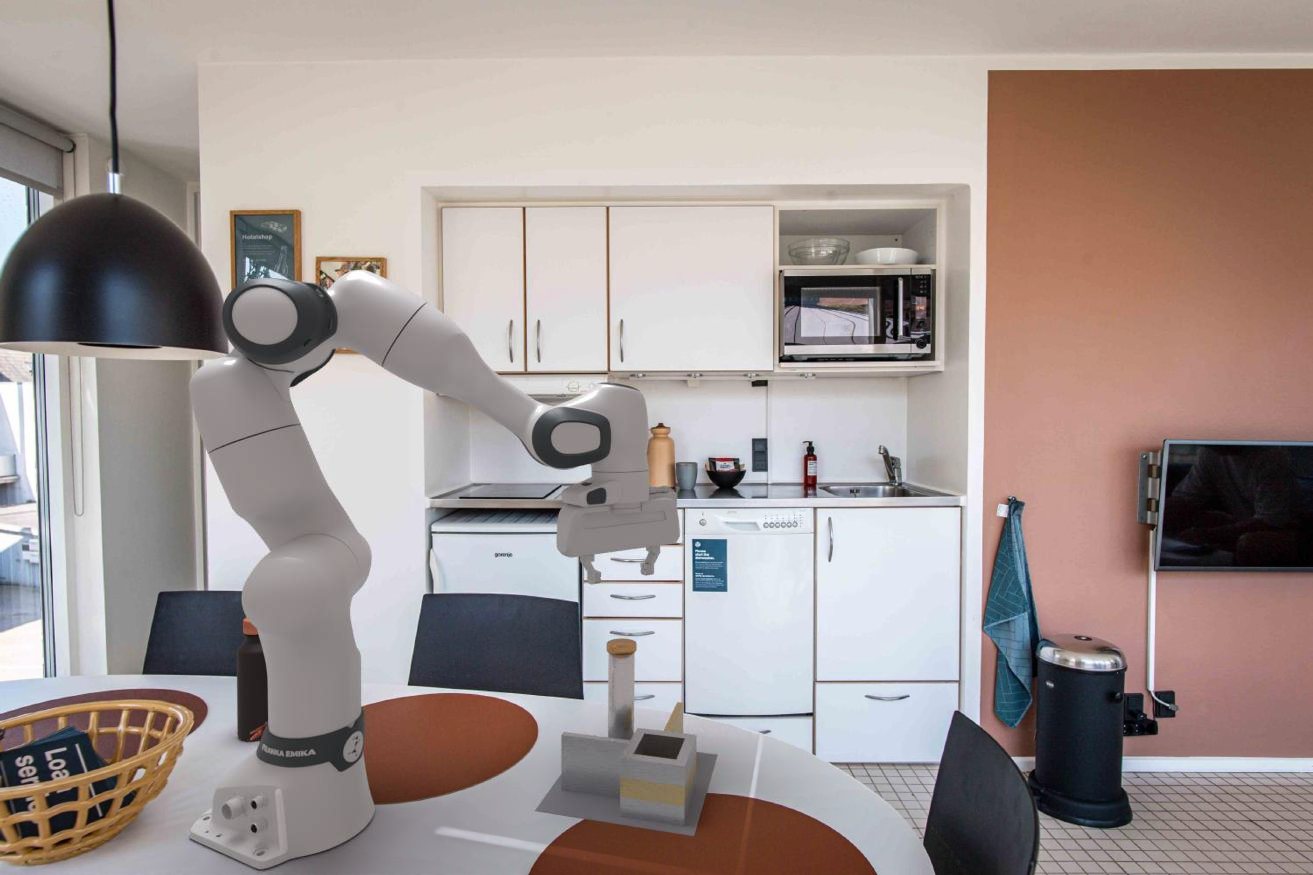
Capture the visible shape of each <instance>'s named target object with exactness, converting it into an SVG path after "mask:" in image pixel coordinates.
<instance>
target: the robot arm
mask: <svg viewBox="0 0 1313 875" xmlns="http://www.w3.org/2000/svg"><path fill="white" fill-rule="evenodd" d="M220 318H221V325H222V328H223V332H224V333H225V336H226V338H227V339H228V341H229V343H230V345H232V346H233V349H232V350H231V352H230V353H228V354H226V355H225V356H223V357H219V358H215V359H213V360H211V361H209V362H207V363H205V364H204V365H202V366H200V367H199V368H198V369H197V370H196V371H195V372H194V373H193V374H192V376H191V378H190V381H189V384H188V390H189V396H190V402H191V406H192V410H193V415H194V419H195V422H196V426H197V430H198V432H199V433H200V434H199V435H200V437H201V439H202V440H201V441H202V444H203V445H204V448H205V450H206V453H207V454H208V457H209V459H210V462H211V464H212V466H213V468H214V471H215V473H216V475H217V477H218V480H219V482H220V484H221V486H222V489H223V492H224V493H225V496H226V498H227V499H228V502H229V504H230V506H231V507H230V508H232V510H233V512H234V513H235V514H236V515H237V517H238V516H239V517H240V518H241V519H243V520H244V521H245V522H247V524H248V525H250V527H251V528H252V529H253V530H254V531H255V532H256V534H258V536H259V538H260V539H261V540H262V542H263V543H264V544H265V545H266V547H267V549H268V550H269V551H270V552H268V553H267V554H266V555H264V556H262V558H261V559H260V560H259V562H258V563H257V564H256V566H254V568H253V569H252V571H251V572H250V574H249V575H248V577H247V578H246V580H245V582H244V585H243V586H242V591H241V605H242V607H241V608H242V610H243V612H244V615H245V618H248V620H249V621H250V622H251V623H252V624H253V625H254V626H255V627H256V628H257V631H258V634H259V638H260V641H261V645H262V649H263V653H264V657H265V662H266V667H267V677H268V721H267V722H265V725H263V726H261V727H260V728H258V729H256V730H254V731H252V732H251V733H250V734H253V733H255V732H257V731H258V733H256V734H255V735H254V736H253V737H252V738H251V739H250V740H251V741H250V742H253V741H252V740H254V739H256V738H257V737H259V736H261V735H262V737H261V740H259V743H258V745H257V748H256V750H255V751H254V752H253V753H251V754H249V755H248V756H247V757H246V758H245V759H243V760H242V761H241V762H239V764H237V765H236V766H235V767H233V768H232V769H231V770H230V771H228V772H227V773H226V774H225V775H223V777H222V778H221V779H220V781H219V782H218V784H217V785H216V788H215V790H214V793H213V799H212V806H211V807H210V808H209V809H208V810H206V811H205V812H204V813H203V814H202V815H200V817H198V819H197V820H196V821H195V822H194V823H193V824H192V826H191V828H190V830H189V838H190V839H191V840H193V841H195V842H197V843H199V844H201V845H204V846H206V847H208V848H210V849H212V850H214V851H217V852H220V853H222V854H224V855H225V856H228V857H231V858H233V859H234V860H237V861H239V862H241V863H244V864H245V865H247V866H250V867H253V868H254V869H258V870H265V869H269V868H271V867H274V866H277V865H279V864H282V863H284V862H286V861H289V860H291V859H296V858H301V857H304V856H309V855H310V856H311V855H313V854H317V853H321V852H323V851H327V850H329V849H332V848H334V847H336V846H339V845H341V844H343V843H345V842H347V841H348V840H350V839H351V838H353V837H355V836H356V835H357V834H359V833H360V832H361V831H362V830H364V829H365V828H366V827H367V826H368V824H369V823H370V822H371V820H372V819H373V817H374V815H375V811H376V806H375V803H374V800H373V796H372V794H371V790H370V786H369V781H368V776H367V771H366V763H365V762H366V761H365V757H364V746H365V740H366V717H365V710H364V707H362V655H361V651H360V649H359V648H358V647H357V643H356V641H355V635H354V630H353V626H352V620H351V617H352V616H351V605H352V601H353V597H354V596H355V595H356V594H357V593H358V592H359V591H360V589H362V587H363V586H365V583H366V582H367V580H368V578H369V576H370V571H371V568H372V559H373V554H372V549H371V546H370V544H369V543H368V542H369V541H367V539H366V537H364V536H363V535H362V534H361V533H360V532H359V531H358V530H357V528H356V526H355V524H354V523H353V521H352V520H351V518H350V516H349V514H348V513H347V511H346V509H345V508H344V507H343V505H342V503H341V502H340V500H339V499H338V498H337V496H336V495H335V493H334V492H333V490H332V488H331V487H330V486H329V484H328V481H327V480H326V478H325V475H324V473H323V472H322V469H321V466H320V464H319V462H318V460H317V458H316V456H315V455H316V454H315V453H314V451H313V449H312V445H311V444H310V441H309V439H308V437H307V435H306V432H305V429H304V427H303V425H302V423H301V421H300V418H299V417H298V414H297V411H296V409H295V407H294V404H293V401H292V397H291V392H290V388H294V387H295V386H298V385H299V384H301V383H302V382H304V381H305V380H306V379H308V378H309V377H311V376H312V375H314V374H315V373H317V372H318V371H320V370H321V369H322V368H324V367H325V366H326V365H328V363H330V361H331V360H332V358H333V357H334V355H335V352H336V350H337V349H346V350H350V351H354V352H356V353H358V354H361V355H362V356H364V357H365V358H367V359H368V360H371V361H372V362H374V363H375V364H377V365H378V366H380V367H381V368H383V369H384V370H386V371H388V373H390V374H392V375H394V376H396V377H397V378H400V379H402V380H404V381H406V382H407V383H410V384H412V385H415V386H416V387H419V388H421V389H423V390H426V391H429V392H432V393H436V394H438V395H441V396H442V395H443V396H446V397H450V398H453V399H455V400H458V401H461V402H463V403H465V404H467V405H469V406H471V407H474V408H475V409H477V410H478V411H480V412H481V413H483V414H484V415H485V416H487V417H489V418H490V419H492V420H494V421H495V422H496V423H498V424H500V425H501V426H503V427H505V428H506V429H507V430H509V431H510V432H511V433H512V434H513V435H514V436H516V437H517V438H518V439H519V442H521V444H522V445H523V447H524V449H525V451H526V452H527V454H528V455H529V456H530V457H531V458H532V459H533V460H534V461H536V462H537V463H538V464H540V465H542V466H544V467H549V468H551V469H555V470H559V471H561V470H562V471H567V470H572V469H576V468H578V467H582V466H587V465H590V467H591V468H590V469H591V477H588V478H587V479H586V478H585V480H581V481H580V482H577V483H575V484H572V485H570V486H567V487H565V488H563V489H562V490H561V493H560V494H561V498H560V499H561V501H562V502H563V503H565V505H563V506H562V507H561V509H560V511H559V513H558V516H557V524H556V548H557V550H558V552H559V553H560V554H561V555H562V556H564V557H567V558H572V559H573V558H578V557H579V562H580V563H581V565H582V566H583V568H584V569H585V572H586V580H587V583H588V584H589V585H599V584H601V583H602V579H601V577H602V572H601V571H599V570H597V569H595V567H594V565H593V564H592V563H594V562H595V561H596V560H595V558H596V556H595V555H601V554H608V553H615V552H622V551H629V550H637V549H644V548H645V551H646V552H648V553H647V555H646V557H645V559H644V562H640V564H639V565H640V574H641V575H643V576H644V577H645V576H653V575H655V564H656V562H657V560H658V558H659V556H660V554H661V546H666V545H673V544H676V543H677V542H678V541H679V539H680V536H681V529H680V519H679V512H678V507H677V506H678V495H677V493H676V491H675V490H674V489H673V488H671V487H670V486H669V485H661V486H650V465H649V463H648V458H647V452H648V447H649V446H648V445H649V440H650V438H649V436H650V435H649V433H650V432H649V416H648V407H647V403H646V398H645V396H644V394H643V393H642V392H641V391H640V390H639V389H638V388H636V387H635V386H631V385H627V384H623V383H618V382H617V383H616V382H607V381H606V382H599V383H596V384H595V385H594V386H593V387H592V388H590V389H589V390H588V391H586V392H584V393H581V394H580V395H578V396H576V397H574V398H571V399H570V400H567V401H564V402H561V403H558V404H556V405H554V404H548V403H544V402H541V401H538V400H536V399H534V398H533V397H531V396H529V395H528V394H527V393H525V392H524V391H522V390H521V389H519V388H518V387H516V386H515V385H514V384H512V383H510V382H509V381H508V380H506V379H505V378H503V377H502V376H500V375H499V374H498V373H497V372H495V371H494V370H493V369H492V368H491V367H490V366H489V365H488V364H487V363H486V362H485V360H484V359H483V358H482V356H481V355H480V354H479V352H478V350H477V349H476V347H475V344H473V342H472V341H471V339H470V337H469V335H467V333H466V332H465V331H463V330H462V328H460V326H458V325H457V324H456V323H455V322H454V321H453V320H452V319H451V318H450V317H448V316H447V315H446V314H445V313H444V312H442V311H441V310H440V309H438V308H437V307H436V306H434V305H432V304H431V303H430V302H428V301H426V300H425V299H423V298H422V297H420V296H419V295H417V294H415V293H414V292H412V291H410V290H409V289H407V288H405V287H403V286H401V285H399V284H397V283H396V282H394V281H392V280H389V279H388V278H385V277H383V276H381V275H379V274H376V273H374V272H371V271H369V270H366V269H354V270H350V271H348V272H346V273H345V274H342V275H341V276H340V277H338V278H337V279H336V280H335V281H334V282H333V283H332V284H331V285H330V286H329V288H328V289H327V290H326V289H325V288H323V286H322V285H320V284H318V283H317V282H316V283H314V282H308V281H306V282H305V281H299V280H291V279H285V278H278V277H277V278H275V277H258V278H257V277H256V278H253V279H249V280H247V281H244V282H242V283H239V284H238V285H236V286H235V287H234V288H233V289H232V290H231V291H230V292H229V293H228V295H226V297H225V300H224V301H223V305H222V308H221V317H220Z"/></svg>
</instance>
